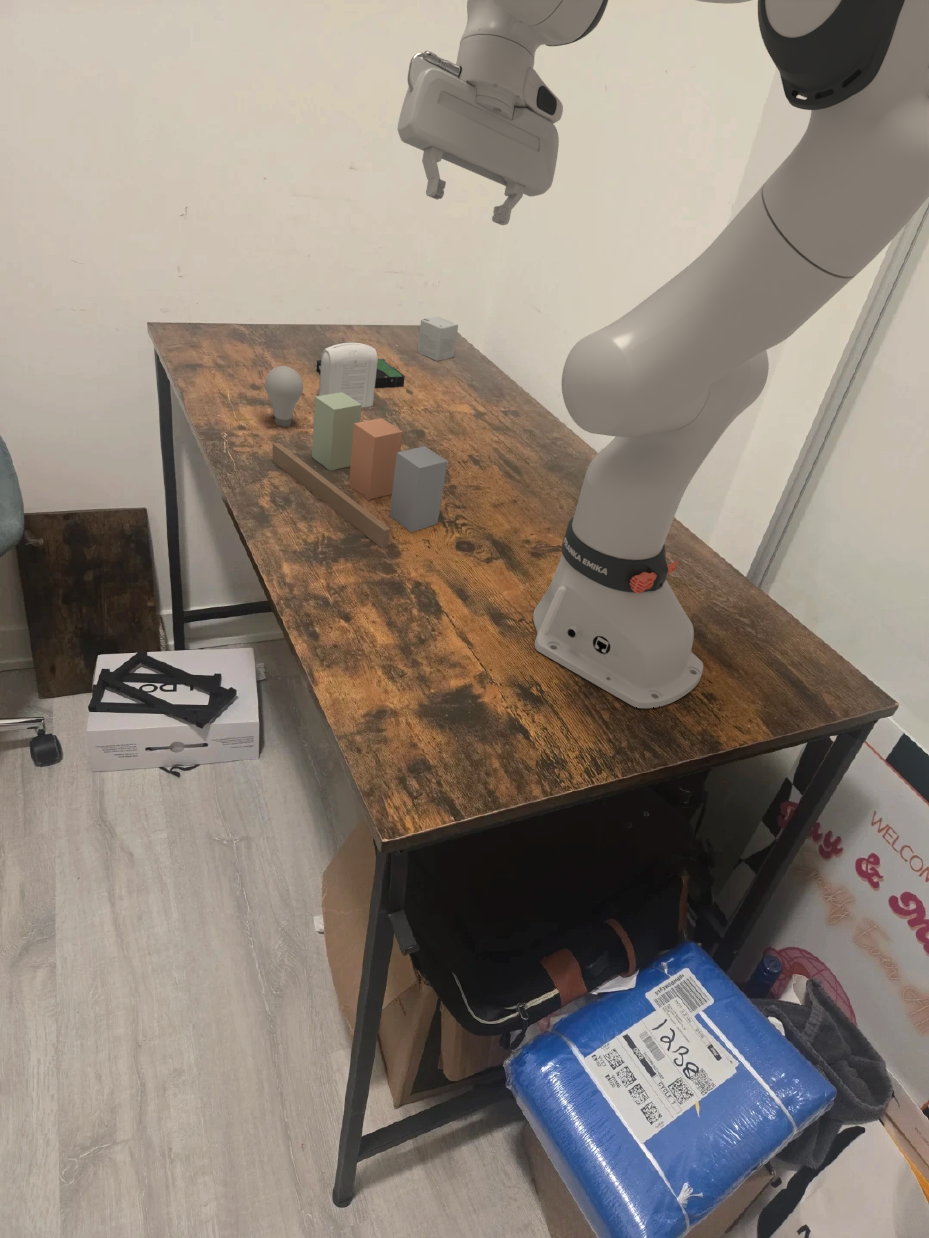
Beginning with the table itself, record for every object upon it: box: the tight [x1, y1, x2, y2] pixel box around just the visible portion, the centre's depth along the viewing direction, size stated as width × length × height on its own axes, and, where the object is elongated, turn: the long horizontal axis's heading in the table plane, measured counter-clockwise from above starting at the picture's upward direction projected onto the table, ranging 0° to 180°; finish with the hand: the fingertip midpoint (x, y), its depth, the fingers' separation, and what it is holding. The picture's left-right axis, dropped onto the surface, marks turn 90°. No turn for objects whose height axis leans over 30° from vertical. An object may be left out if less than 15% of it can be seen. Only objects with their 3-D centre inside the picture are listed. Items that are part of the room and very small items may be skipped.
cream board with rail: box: [271, 442, 391, 549], centre depth 119 cm, size 28×19×4 cm
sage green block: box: [311, 392, 363, 472], centre depth 122 cm, size 5×5×10 cm
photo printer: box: [318, 342, 378, 408], centre depth 141 cm, size 10×4×12 cm, turn 123°
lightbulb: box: [264, 365, 304, 428], centre depth 130 cm, size 6×6×11 cm
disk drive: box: [316, 357, 406, 389], centre depth 157 cm, size 10×3×15 cm
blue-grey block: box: [388, 445, 449, 533], centre depth 111 cm, size 5×5×10 cm
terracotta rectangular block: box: [348, 417, 403, 501], centre depth 117 cm, size 5×5×10 cm
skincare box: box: [417, 316, 459, 362], centre depth 174 cm, size 6×6×7 cm
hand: (467, 210), depth 95 cm, fingers open, 8 cm apart
